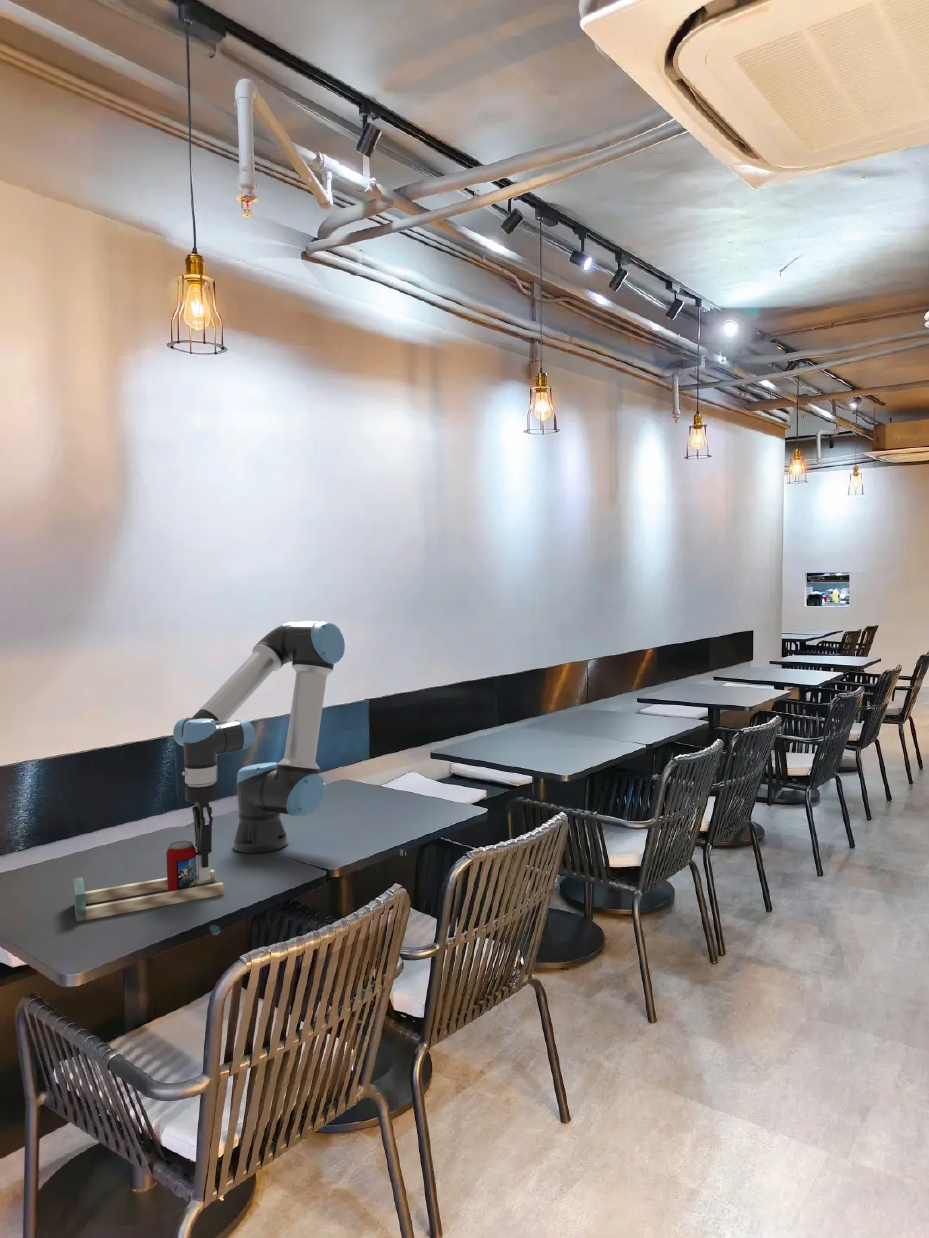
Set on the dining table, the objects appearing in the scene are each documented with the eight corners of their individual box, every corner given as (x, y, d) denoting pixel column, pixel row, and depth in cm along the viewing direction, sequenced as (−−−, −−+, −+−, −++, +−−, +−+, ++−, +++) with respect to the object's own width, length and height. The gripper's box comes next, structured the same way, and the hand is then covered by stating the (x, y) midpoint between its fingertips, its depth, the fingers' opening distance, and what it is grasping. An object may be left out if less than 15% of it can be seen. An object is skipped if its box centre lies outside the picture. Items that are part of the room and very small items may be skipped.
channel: (214, 879, 209) (213, 855, 209) (223, 894, 199) (222, 869, 198) (74, 904, 195) (73, 878, 194) (76, 921, 184) (75, 895, 184)
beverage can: (188, 899, 196) (186, 849, 196) (162, 897, 198) (160, 847, 197) (202, 888, 203) (200, 840, 202) (177, 887, 204) (175, 839, 204)
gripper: (180, 780, 206) (184, 874, 206) (189, 790, 194) (193, 890, 195) (211, 776, 209) (214, 868, 210) (222, 786, 197) (225, 884, 198)
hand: (204, 879), depth 202 cm, fingers closed
